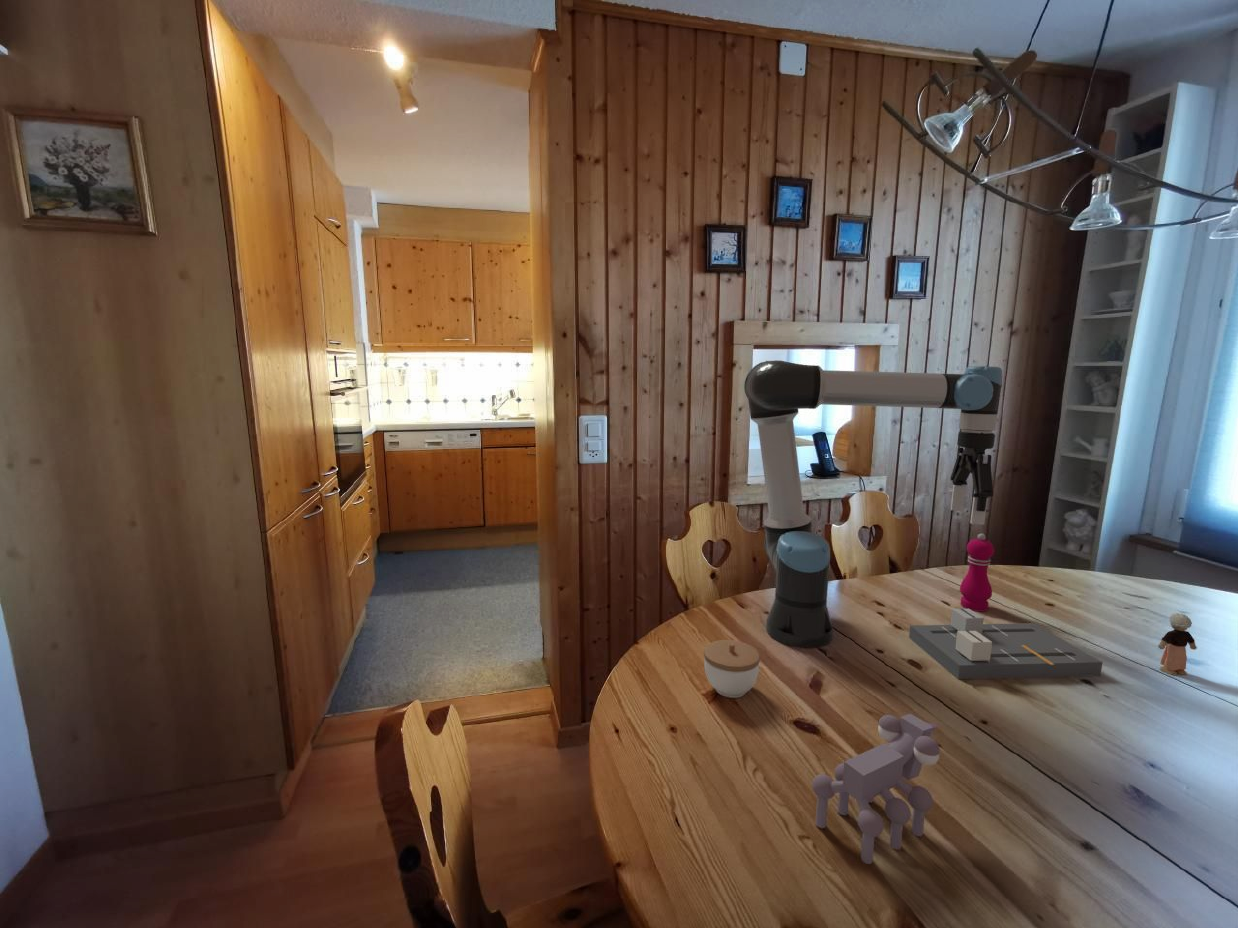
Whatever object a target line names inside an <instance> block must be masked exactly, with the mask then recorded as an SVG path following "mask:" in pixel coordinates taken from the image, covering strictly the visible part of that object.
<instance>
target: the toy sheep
mask: <svg viewBox="0 0 1238 928" xmlns="http://www.w3.org/2000/svg"><path fill="white" fill-rule="evenodd" d="M937 726H938V725H937V724H933V723H929V722H926V721H924V720H922V719H921V718H918V717H917V716H915V715H913V714H912V713H908V714H905V715H902V716H900V718H899V719H898V718H897V717H896V716H894V715H891V714H885V715H883V716H881V717H880V718H879V720H878V727H877V729H878V735H879V736H880V738H881V739H882V740H883V741H885V742H887V743H889V744H886V743H882V744H879V745H877V746H875V747H873V748H870V749H868V750H867V751H864V752H862V753H860V754H858V755H855V756H853V757H851V758H849V759H847V760H844V762H843V763H838V764H837V766H836V767H835V769H834V778H835V780H836V781H834V780H833V779H832V778H831V777H830V776H829V775H826V774H823V773H822V774H818V775H817V774H816V776H815V777H813V780H812V784H811V785H812V787H811V788H812V790H813V792H814V794H815V795H816V796H817V797H816V810H815V824H814V825H815V826H816V827H817V828H820V829H825V828H826V827H827V825H826V824H827V813H828V800H830V799H833V797H834V796H835V794H838V800H837V801H838V802H837V813H838V814H839V815H842V816H847V815H848V813H849V802H850V801H849V800H850V796H851V797H852V798H853V799H855V800H856V803H857V807H858V809H859V813H858V815H857V825H858V828H859V829H860V831H861V832H862V839H861V840H862V841H861V854H860V858H861V859H860V860H861V861H862V862H863V863H864V864H867V865H871V864H873V859H874V847H875V838H877V837H880V835H882V833H883V832H884V827H885V826H884V820H883V819H882V817H881V815H880V814H879V813H878V812H877V811H875V810H873V809H872V808H871V806H870V804H869V803H874V798H875V797H878V796H879V795H880V796H881V798H882V799H883V800H884V802H885V805H884V812H885V814H886V816H887V818H888V819H889V820H890V821H891V823H890V835H889V846H890V847H891V848H892V849H893V850H900V849H901V848H902V839H903V838H902V837H903V829H904V828H903V827H904V825H905V824H907V823H909V821H910V820H911V818H912V822H911V833H912V834H913V835H914V836H917V837H923V834H924V828H925V827H924V826H925V816H926V812H928V811H930V810H931V809H933V805H934V799H933V796H932V794H931V793H930V791H929V790H928V789H927V788H926V787H923V786H922V785H914V786H913V785H912V784H910V783H909V782H907V781H910V780H912V779H915V778H918V777H920V773H921V770H922V766H923V765H925V766H933V765H935V764H936V763H938V761H939V758H940V747H939V744H938V742H937V741H936V740H935V739H934V738H933V737H932V734H933V732H934V731H935V730H936V728H937ZM903 778H904V779H906V780H907V781H906V780H904V779H903ZM894 787H896V788H897V789H899V790H900V791H901V792H902V793H904V795H906V796H907V801H908V803H909V804H910V805H908V803H907V802H906V801H905V800H904V799H902V798H900V797H895V795H894V793H892V791H891V789H892V788H894ZM910 806H911V807H912V808H913V811H912V812H913V813H912V812H911V808H910ZM911 813H912V815H911ZM911 816H912V817H911Z"/></svg>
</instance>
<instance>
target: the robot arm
mask: <svg viewBox="0 0 1238 928" xmlns="http://www.w3.org/2000/svg"><path fill="white" fill-rule="evenodd" d="M743 385H744V386H743V389H744V393H745V397H746V398H747V401H748V409H749V414H750V415H749V416H750V420H751V421H752V422H754V423H755V424H756V425H757V430H758V437H759V439H758V440H759V446H760V452H761V454H760V455H761V459H762V461H761V462H762V467H763V477H764V485H765V492H766V493H765V494H766V499H767V509H768V516H767V518H766V519H765V520H764V522H763V524H764V533H765V538H764V549H765V552H766V553H765V554H766V555H767V557H768V558H769V560H770V561H771V563H772V566H773V567H774V569H775V592H774V594H775V595H774V600H773V603H772V606H771V608H770V610H769V612H768V615H767V618H766V621H765V622H766V625H765V626H766V627H765V628H766V629H765V630H766V632H767V635H769V636H770V637H771V638H773V639H774V640H776V641H777V642H780V643H783V644H786V645H789V646H793V647H799V648H819V647H824V646H826V645H828V644H830V643H831V642H832V641H833V636H834V635H833V634H834V626H833V623H832V620H831V617H830V612H829V609H828V606H827V605H828V604H827V602H828V601H827V600H828V590H829V589H828V588H829V587H828V586H829V576H830V575H829V572H830V561H831V552H830V551H831V548H830V544H829V542H828V541H827V539H825V538H824V537H822V536H821V535H817V534H815V533H814V531H813V525H812V518H811V517H810V516H809V515H808V514H807V513H805V511H804V503H803V501H804V500H803V495H802V485H801V476H800V470H799V460H798V449H797V444H796V443H797V442H796V436H795V427H794V426H795V425H794V419H795V417H796V416H797V415H798V414H799V410H800V409H804V410H805V409H807V410H808V409H810V410H811V409H812V410H815V409H817V408H818V407H819V406H821V405H824V406H825V405H826V406H828V405H829V406H830V405H831V406H858V407H859V406H865V407H890V408H891V407H894V408H895V407H896V408H897V407H898V408H929V409H946V410H947V409H948V410H949V409H951V410H952V409H953V410H960V415H959V420H958V421H959V423H958V429H960V431H959V432H958V433H957V434H958V435H957V442H956V443H957V444H956V445H957V446H958V448H957V449H958V450H957V456H956V460H955V463H954V466H953V468H952V471H951V476H950V479H949V480H950V481H952V484H953V486H952V494H951V502H950V509H949V510H951V511H958V512H963V511H964V506H965V500H966V499H965V498H966V492H967V491H966V489H967V486H968V482H967V481H968V478H969V476H970V474H971V477H972V482H973V487H974V488H973V489H974V493H973V494H971V495H972V506H971V512H970V513H971V514H970V521H969V523H970V524H971V525H980V526H981V525H985V522H986V521H985V520H986V513H987V506H988V505H987V504H988V499H989V498H991V497H993V496H994V489H993V488H994V486H993V476H992V454H986V450H991V449H993V448H994V447H995V439H996V434H995V433H994V431H996V429H997V423H999V421H1000V418H999V417H998V412H999V406H1000V398H1001V392H1002V388H1003V369H1002V368H1001V367H1000V366H993V365H992V366H990V365H989V366H987V365H986V366H984V365H982V366H976V365H975V366H973V365H972V366H967V367H966V368H965V372H964V373H961V374H959V373H933V372H931V373H929V372H927V373H925V372H901V371H899V372H896V371H895V372H894V371H890V372H889V371H865V370H864V371H861V370H859V371H858V370H857V371H856V370H827V369H826V370H825V369H823V368H822V367H821V366H820V365H813V364H811V365H809V364H800V363H795V362H790V361H789V362H788V361H783V360H766V361H762V362H761V361H760V362H759V363H758V364H756V365H754V366H753V367H752V368H751V369H749V372H748V373H747V375H746V377H745V380H744V383H743Z"/></svg>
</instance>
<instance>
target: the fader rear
mask: <svg viewBox="0 0 1238 928" xmlns="http://www.w3.org/2000/svg"><path fill="white" fill-rule="evenodd" d="M983 624H984V617H983V616H982V615H980V614H978V613H977V612H976V611H974V610H970V609H967V608H952V609H951V617H950V625H951V626H952V627H954V628H955V629H957V630H958V631H977V632H978V633H980V634H981V635H982V629H983Z"/></svg>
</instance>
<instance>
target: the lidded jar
mask: <svg viewBox="0 0 1238 928" xmlns="http://www.w3.org/2000/svg"><path fill="white" fill-rule="evenodd" d="M703 658H704V661H703V662H704V665H703V666H704V671H705V676H706V678H707V681H708V683H709V684H710V685H711V687H712V688H713V689H714V690H715V691H716V693H717V694H718V695H721V696H722V697H726V698H733V699H734V698H741V697H743V696H745V695H746V693H747V692H749V691H750V690H751V689H752V688H753V687H754V685H755V684H756V682H757V679H758V676H759V669H760V661H761V655H760V651H758V649H756V647H754V646H753V645H751V644H748V643H747V642H743V641H739V640H735V639H720V640H715V641H712V642H710V643H708V644H706V646H705V648H704V649H703Z"/></svg>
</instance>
